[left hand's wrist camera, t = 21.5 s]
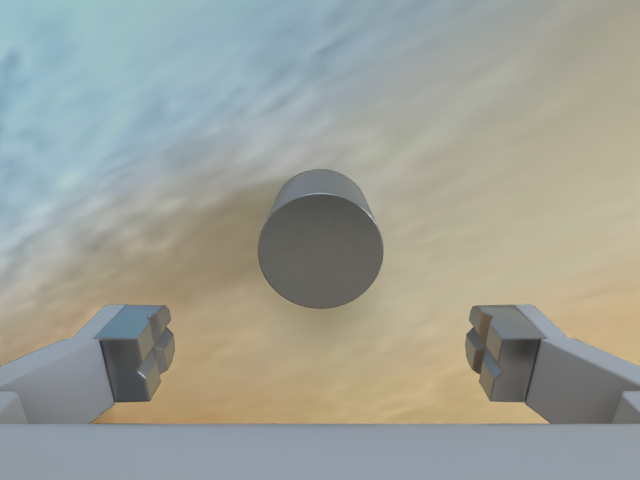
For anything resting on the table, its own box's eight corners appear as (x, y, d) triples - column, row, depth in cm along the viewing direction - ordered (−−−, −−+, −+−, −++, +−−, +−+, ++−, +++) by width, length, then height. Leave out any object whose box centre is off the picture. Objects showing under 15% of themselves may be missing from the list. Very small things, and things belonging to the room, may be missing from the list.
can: (254, 226, 20) (233, 266, 15) (310, 148, 18) (306, 165, 14) (329, 277, 21) (332, 329, 16) (388, 207, 19) (409, 242, 15)
